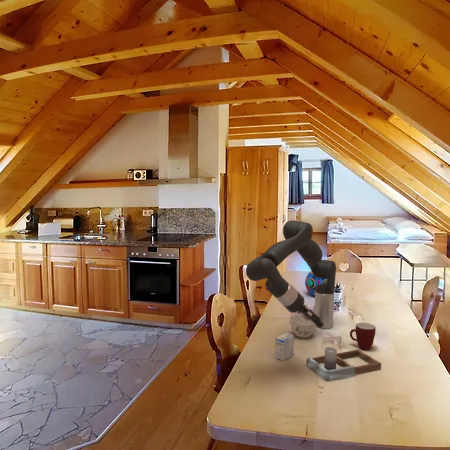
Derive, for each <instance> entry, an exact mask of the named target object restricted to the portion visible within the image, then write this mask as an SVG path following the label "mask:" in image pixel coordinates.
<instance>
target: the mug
mask: <svg viewBox="0 0 450 450" xmlns="http://www.w3.org/2000/svg"><path fill="white" fill-rule="evenodd" d="M353 333H355V336H356V338H355V337H353ZM375 336H376V325H374V324H371V323H368V322H357V323H356V324H355V328H354V329H351V330H350V331H349V337H350V339H352V340H353V341H355V342H357V345H358V347H359V349H360V350H363V351H368V350H370V349H371V348H372V346H373V344H374V342H375Z"/></svg>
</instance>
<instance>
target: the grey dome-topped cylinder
mask: <svg viewBox="0 0 450 450" xmlns="http://www.w3.org/2000/svg"><path fill="white" fill-rule="evenodd" d="M337 353H338V350H337V348H334V347H325V348H324V356H325V360H324V363H323V367H324V368H325V369H327V370H333V369H337V363H336V360H337Z"/></svg>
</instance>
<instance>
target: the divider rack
mask: <svg viewBox="0 0 450 450" xmlns="http://www.w3.org/2000/svg"><path fill="white" fill-rule="evenodd" d="M352 358H359V359H361V360H362V361H364V362H365V363H367V364H363V365H358V366H354V365H351V364H350V363H349V362H347V361H346V360H347V359H352ZM324 360H325V355H321V356H316V357H311V356H309V357H307V358H306V360H305V363H306V367H308V368H309V369H310V368H311V369H312V370H311V369H310V370H311V371H313V372H314V373H315V372H316V373H317V376H319V377H320V376H321V377H322V378H321V377H320V378H321V379H322V380H324V381H325V380H326V382H328V381H327V380H329V382H333V381H337V379H338V380H341V379H342V380H343V379H347V378H353V377H355V376H356V375H361V374H366V373H369V372H375V371H380V370H381V369H382V362H380V361H378V360H377V359H375V358H374V357H372V356H370V355H368V354H367V353H365V352H363V351H362V350H361V349H353V350H348V351H342V352H337V360H336V365H338V366H340V368H336V369H333V370H327V369H325V368H324V365H321V364H320V363H322V364H324ZM342 367H343V368H342ZM332 380H333V381H332Z"/></svg>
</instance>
